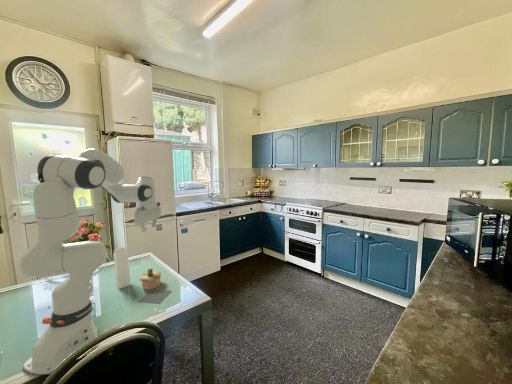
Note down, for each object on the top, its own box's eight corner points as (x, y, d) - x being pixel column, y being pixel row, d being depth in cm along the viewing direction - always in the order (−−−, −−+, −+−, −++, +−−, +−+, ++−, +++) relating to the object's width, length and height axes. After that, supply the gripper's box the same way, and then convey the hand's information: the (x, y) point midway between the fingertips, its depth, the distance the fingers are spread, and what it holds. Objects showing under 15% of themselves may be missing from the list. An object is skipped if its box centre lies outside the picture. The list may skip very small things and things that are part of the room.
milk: (130, 285, 134) (127, 248, 131) (118, 289, 129) (115, 250, 127) (127, 281, 138) (124, 245, 135) (115, 285, 134) (112, 247, 131)
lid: (153, 282, 126) (153, 274, 126) (135, 281, 128) (134, 273, 127) (164, 273, 137) (164, 265, 136) (147, 271, 139) (146, 264, 138)
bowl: (154, 290, 128) (153, 281, 127) (138, 289, 129) (138, 280, 129) (163, 281, 137) (162, 273, 136) (148, 280, 138) (148, 272, 138)
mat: (160, 304, 115) (159, 303, 115) (137, 302, 117) (137, 301, 117) (172, 291, 127) (172, 290, 127) (152, 289, 129) (151, 288, 129)
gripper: (140, 208, 123) (142, 234, 125) (162, 202, 143) (163, 224, 145) (129, 208, 124) (132, 234, 126) (152, 202, 144) (154, 224, 146)
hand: (149, 228), depth 135 cm, fingers open, 8 cm apart
